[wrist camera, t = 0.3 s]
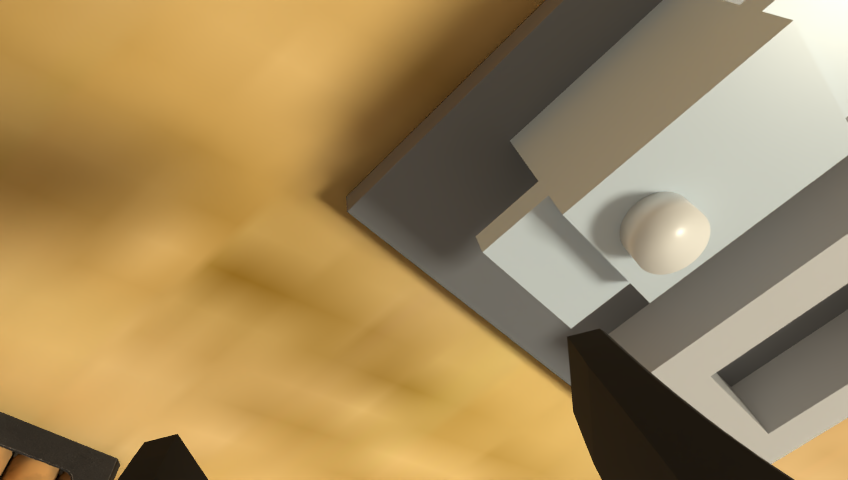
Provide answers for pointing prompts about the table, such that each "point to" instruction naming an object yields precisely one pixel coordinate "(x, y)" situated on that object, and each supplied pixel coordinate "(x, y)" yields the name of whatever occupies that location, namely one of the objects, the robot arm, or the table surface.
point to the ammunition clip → (48, 455)
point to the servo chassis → (628, 310)
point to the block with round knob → (674, 148)
